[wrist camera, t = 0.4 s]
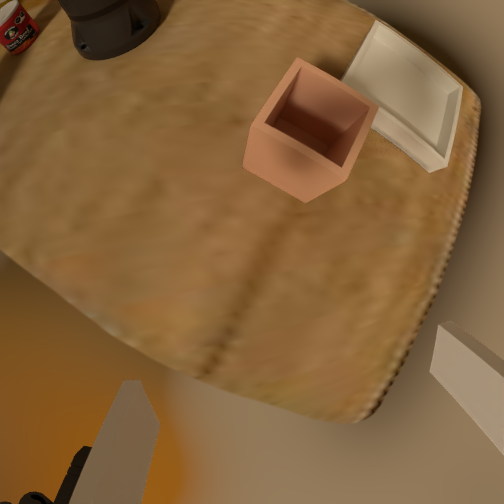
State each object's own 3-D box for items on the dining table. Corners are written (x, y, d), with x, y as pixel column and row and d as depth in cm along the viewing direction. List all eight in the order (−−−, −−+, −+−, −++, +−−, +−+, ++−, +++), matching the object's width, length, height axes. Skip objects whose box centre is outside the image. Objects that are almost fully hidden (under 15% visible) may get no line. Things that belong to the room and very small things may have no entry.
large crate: (328, 100, 36) (339, 85, 31) (366, 34, 36) (376, 19, 32) (429, 172, 37) (447, 166, 33) (448, 96, 38) (462, 87, 33)
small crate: (242, 167, 35) (250, 125, 22) (275, 113, 35) (297, 57, 22) (305, 203, 36) (346, 180, 23) (334, 147, 36) (379, 106, 23)
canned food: (12, 62, 31) (-15, 37, 20) (11, 43, 30) (-13, 20, 19) (41, 37, 31) (17, 8, 20) (38, 21, 31) (17, -6, 20)
